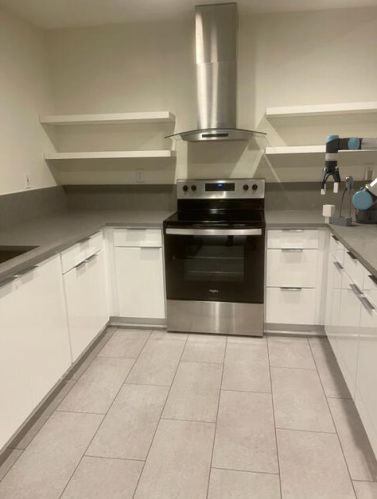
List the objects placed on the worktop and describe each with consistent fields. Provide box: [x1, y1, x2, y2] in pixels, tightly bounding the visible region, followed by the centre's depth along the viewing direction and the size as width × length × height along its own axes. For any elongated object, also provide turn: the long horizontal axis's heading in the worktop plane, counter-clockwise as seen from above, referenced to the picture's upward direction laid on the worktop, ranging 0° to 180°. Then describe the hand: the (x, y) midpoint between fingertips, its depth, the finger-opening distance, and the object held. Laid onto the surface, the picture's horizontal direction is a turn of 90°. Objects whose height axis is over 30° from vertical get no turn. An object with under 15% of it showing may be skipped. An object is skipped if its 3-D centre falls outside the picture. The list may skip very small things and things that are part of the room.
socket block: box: [331, 215, 353, 227], centre depth 245 cm, size 6×10×5 cm, turn 35°
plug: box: [322, 204, 336, 224], centre depth 252 cm, size 4×6×12 cm
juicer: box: [338, 175, 358, 218], centre depth 257 cm, size 10×11×30 cm
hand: (329, 193), depth 249 cm, fingers open, 13 cm apart
